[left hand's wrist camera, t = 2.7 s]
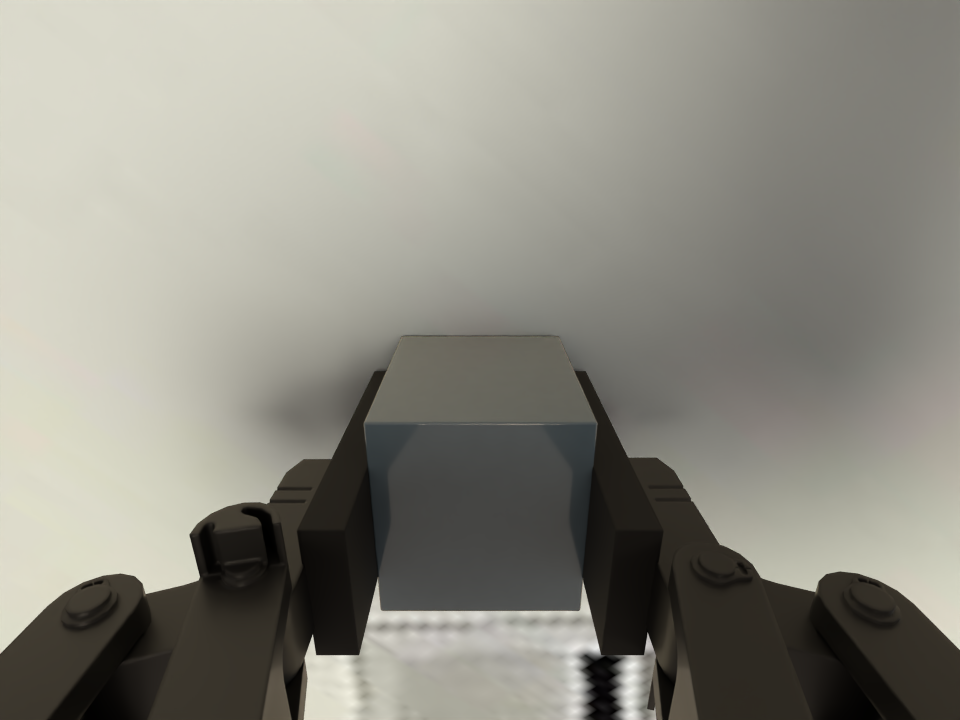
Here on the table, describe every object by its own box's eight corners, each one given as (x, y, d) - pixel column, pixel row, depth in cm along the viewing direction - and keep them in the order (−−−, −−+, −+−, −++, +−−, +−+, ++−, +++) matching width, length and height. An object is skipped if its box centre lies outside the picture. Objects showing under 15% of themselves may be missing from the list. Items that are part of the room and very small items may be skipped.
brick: (401, 335, 14) (362, 422, 9) (559, 335, 14) (598, 422, 9) (409, 478, 16) (380, 611, 11) (551, 478, 16) (580, 611, 11)
